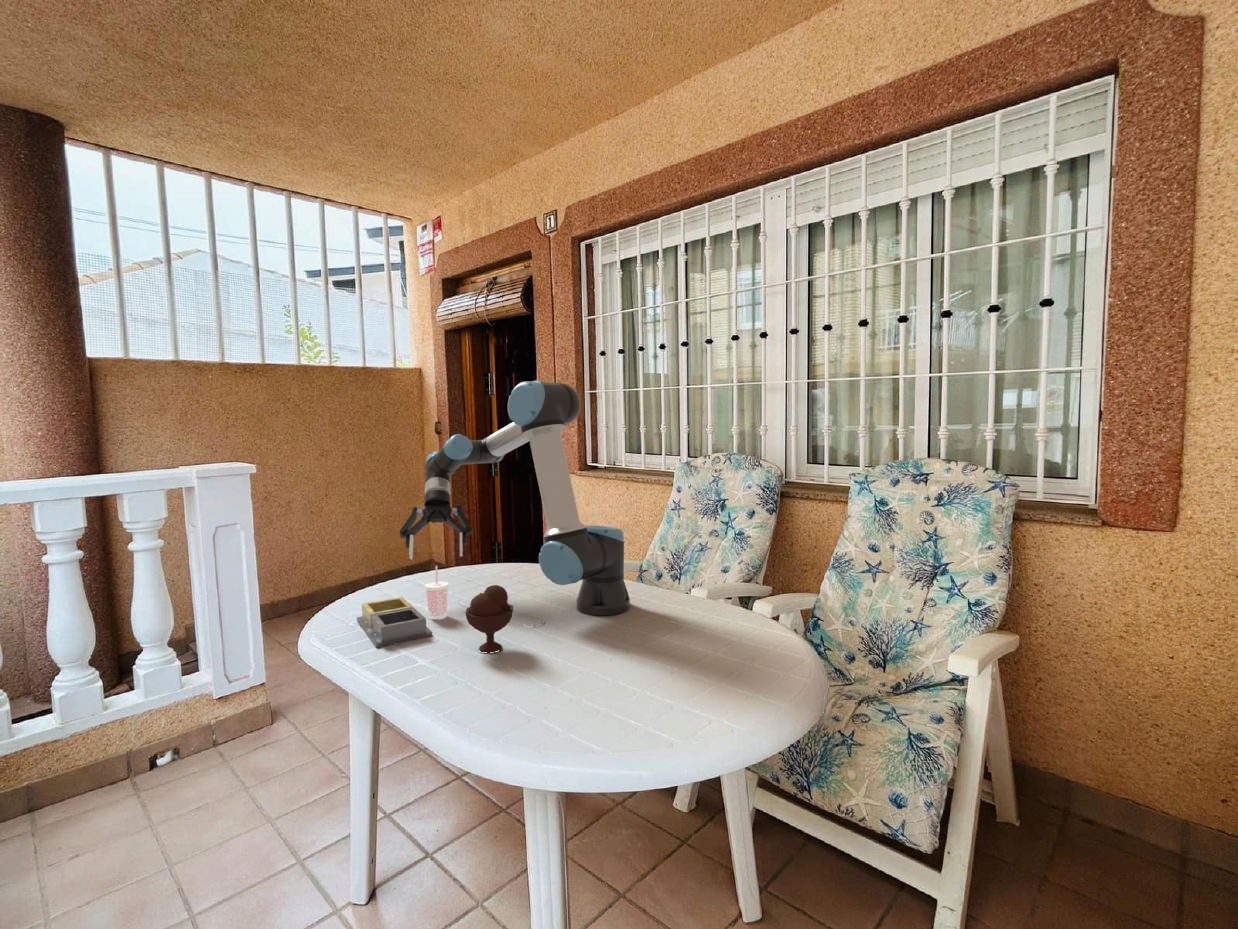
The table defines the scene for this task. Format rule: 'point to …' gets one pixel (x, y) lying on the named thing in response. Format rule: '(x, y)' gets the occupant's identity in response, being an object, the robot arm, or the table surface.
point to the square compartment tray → (392, 622)
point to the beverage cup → (437, 598)
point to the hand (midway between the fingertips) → (436, 555)
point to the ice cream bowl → (490, 615)
